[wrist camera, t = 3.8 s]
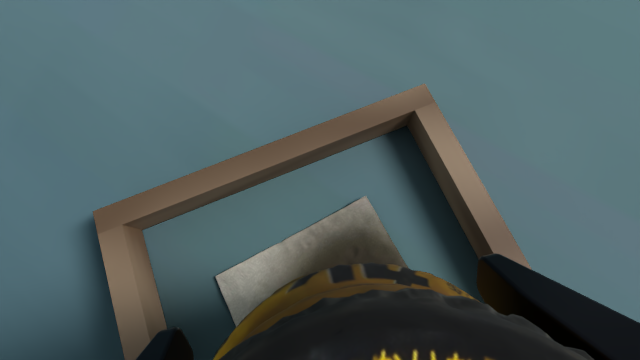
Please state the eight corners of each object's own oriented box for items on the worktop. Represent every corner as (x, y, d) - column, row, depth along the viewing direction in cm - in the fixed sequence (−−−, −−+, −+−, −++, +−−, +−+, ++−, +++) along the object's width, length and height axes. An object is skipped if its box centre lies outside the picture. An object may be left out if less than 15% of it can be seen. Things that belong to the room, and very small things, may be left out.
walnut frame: (621, 467, 12) (660, 492, 11) (222, 676, 11) (206, 736, 9) (416, 100, 17) (424, 83, 15) (114, 217, 15) (92, 211, 14)
